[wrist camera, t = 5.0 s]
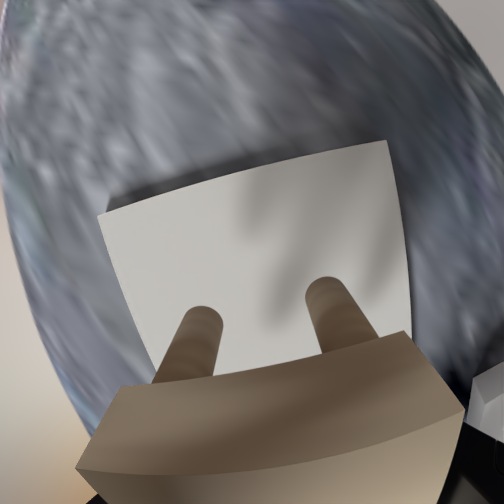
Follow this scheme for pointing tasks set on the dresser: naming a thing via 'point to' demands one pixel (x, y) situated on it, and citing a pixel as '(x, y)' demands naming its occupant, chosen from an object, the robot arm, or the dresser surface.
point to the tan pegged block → (281, 421)
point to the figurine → (488, 402)
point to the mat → (265, 253)
